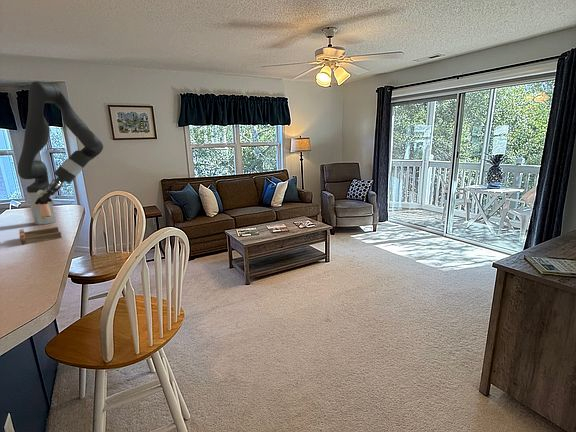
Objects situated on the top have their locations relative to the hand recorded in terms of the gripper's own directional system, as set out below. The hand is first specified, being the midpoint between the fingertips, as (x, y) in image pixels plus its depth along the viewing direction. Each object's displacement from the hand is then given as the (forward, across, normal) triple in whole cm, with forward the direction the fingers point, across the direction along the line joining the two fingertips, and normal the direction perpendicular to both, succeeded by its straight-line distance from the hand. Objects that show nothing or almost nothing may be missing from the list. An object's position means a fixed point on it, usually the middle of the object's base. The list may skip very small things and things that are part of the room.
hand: (41, 200), depth 139 cm
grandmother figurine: (+5, 0, +6) cm, 8 cm away
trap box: (+14, 0, +10) cm, 17 cm away
